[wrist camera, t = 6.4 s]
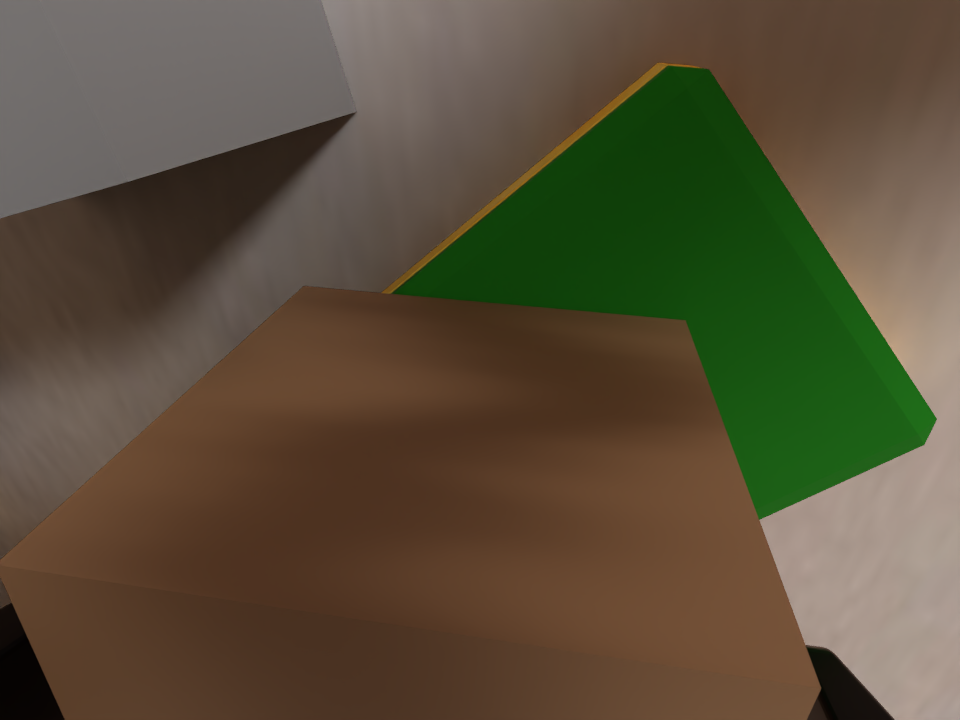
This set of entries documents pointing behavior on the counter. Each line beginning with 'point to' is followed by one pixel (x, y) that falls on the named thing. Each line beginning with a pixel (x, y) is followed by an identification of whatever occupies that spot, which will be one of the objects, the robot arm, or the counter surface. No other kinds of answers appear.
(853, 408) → the dish sponge
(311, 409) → the walnut block
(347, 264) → the counter surface
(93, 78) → the slate block
